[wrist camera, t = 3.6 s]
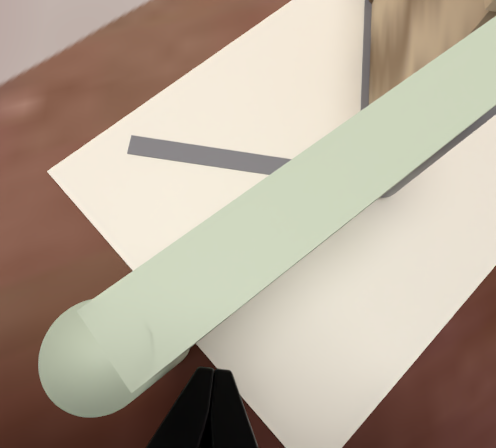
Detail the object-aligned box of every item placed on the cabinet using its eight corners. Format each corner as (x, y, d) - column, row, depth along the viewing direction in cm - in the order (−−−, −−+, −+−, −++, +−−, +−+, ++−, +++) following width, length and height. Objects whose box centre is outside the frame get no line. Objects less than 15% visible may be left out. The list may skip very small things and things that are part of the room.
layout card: (591, 147, 21) (598, 144, 21) (312, 477, 15) (314, 481, 15) (362, -46, 24) (364, -52, 24) (49, 173, 18) (46, 170, 18)
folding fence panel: (381, 153, 19) (560, -42, 9) (408, 182, 19) (624, 13, 9) (137, 337, 16) (6, 340, 6) (164, 377, 15) (77, 454, 5)
